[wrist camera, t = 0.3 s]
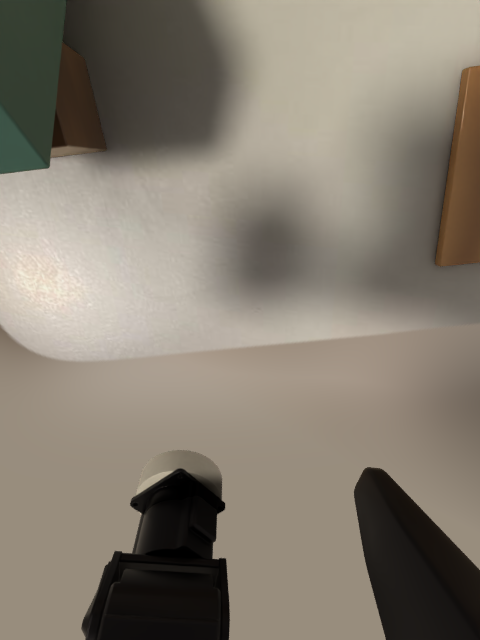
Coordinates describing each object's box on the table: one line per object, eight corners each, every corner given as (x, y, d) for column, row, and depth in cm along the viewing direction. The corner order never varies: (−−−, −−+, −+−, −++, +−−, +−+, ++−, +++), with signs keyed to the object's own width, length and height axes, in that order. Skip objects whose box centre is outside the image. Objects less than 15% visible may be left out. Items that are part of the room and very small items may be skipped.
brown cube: (107, 150, 18) (67, 146, 13) (32, 160, 18) (-33, 159, 14) (84, 57, 16) (30, 17, 12) (2, 68, 16) (-83, 31, 12)
